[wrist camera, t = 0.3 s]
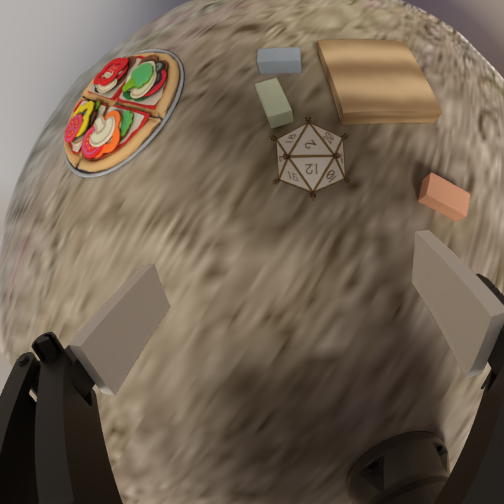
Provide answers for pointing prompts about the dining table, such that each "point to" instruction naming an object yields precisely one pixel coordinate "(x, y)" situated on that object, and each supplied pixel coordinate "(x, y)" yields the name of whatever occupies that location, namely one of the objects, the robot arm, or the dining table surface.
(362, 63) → the oak block
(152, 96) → the toy pizza
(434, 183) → the terracotta brick
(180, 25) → the dining table surface
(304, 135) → the game die
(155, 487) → the dining table surface
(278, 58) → the slate blue brick
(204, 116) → the dining table surface
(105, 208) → the dining table surface
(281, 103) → the sage brick
